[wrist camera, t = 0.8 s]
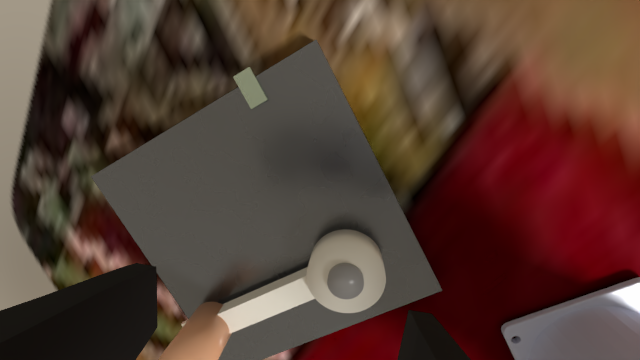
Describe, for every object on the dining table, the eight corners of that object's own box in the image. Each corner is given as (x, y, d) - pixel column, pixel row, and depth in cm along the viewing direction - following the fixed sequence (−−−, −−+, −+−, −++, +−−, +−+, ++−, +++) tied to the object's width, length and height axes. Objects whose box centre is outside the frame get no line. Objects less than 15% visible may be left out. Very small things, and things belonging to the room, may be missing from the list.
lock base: (437, 280, 18) (443, 292, 17) (225, 363, 21) (218, 378, 20) (313, 34, 16) (310, 28, 14) (93, 169, 19) (76, 173, 18)
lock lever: (395, 278, 17) (407, 328, 13) (215, 351, 19) (182, 410, 16) (362, 217, 16) (365, 251, 12) (181, 300, 19) (137, 350, 15)
